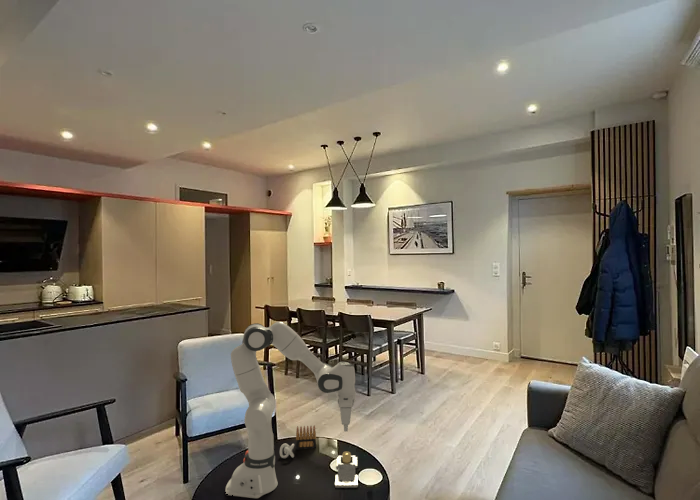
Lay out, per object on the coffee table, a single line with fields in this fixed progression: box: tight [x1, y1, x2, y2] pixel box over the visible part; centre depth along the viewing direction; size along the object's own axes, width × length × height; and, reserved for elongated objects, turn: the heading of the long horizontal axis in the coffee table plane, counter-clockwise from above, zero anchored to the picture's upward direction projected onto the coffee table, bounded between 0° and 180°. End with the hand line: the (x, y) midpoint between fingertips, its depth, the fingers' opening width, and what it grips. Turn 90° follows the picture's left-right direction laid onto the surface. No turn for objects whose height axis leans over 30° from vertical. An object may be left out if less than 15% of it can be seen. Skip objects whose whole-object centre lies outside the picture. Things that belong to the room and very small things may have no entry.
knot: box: [279, 443, 296, 459], centre depth 203 cm, size 8×8×6 cm
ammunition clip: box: [295, 425, 317, 450], centre depth 211 cm, size 11×2×12 cm, turn 96°
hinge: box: [334, 455, 359, 489], centre depth 187 cm, size 10×24×6 cm, turn 0°
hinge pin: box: [341, 451, 352, 463], centre depth 187 cm, size 4×4×9 cm
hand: (346, 426), depth 187 cm, fingers open, 8 cm apart
